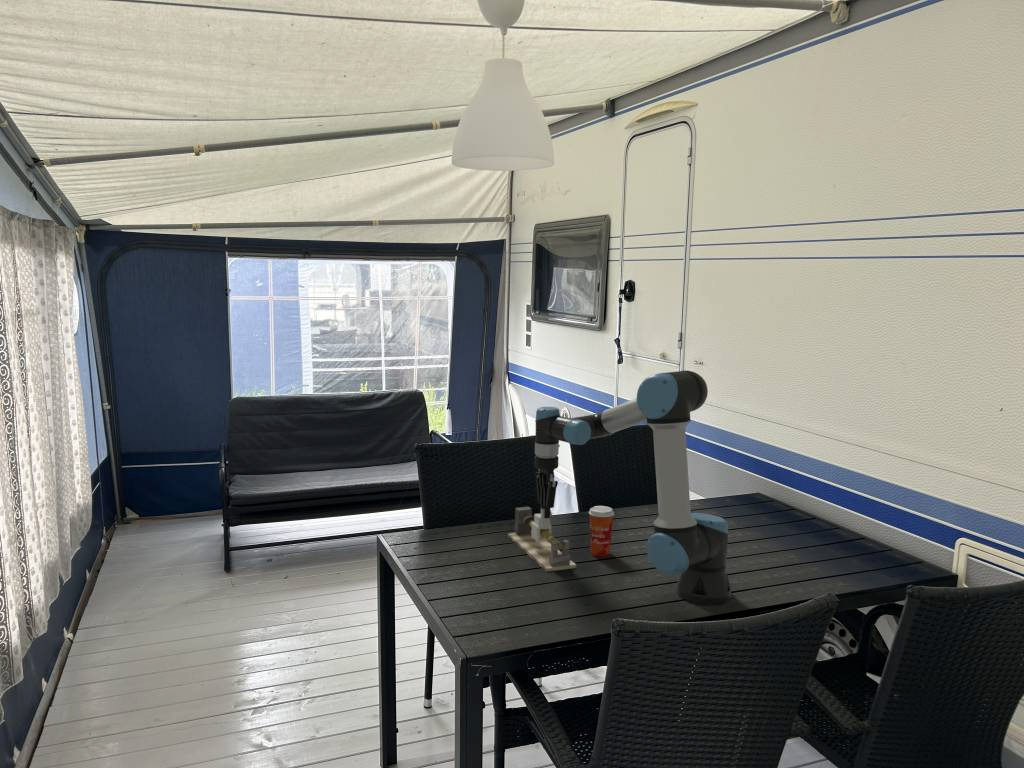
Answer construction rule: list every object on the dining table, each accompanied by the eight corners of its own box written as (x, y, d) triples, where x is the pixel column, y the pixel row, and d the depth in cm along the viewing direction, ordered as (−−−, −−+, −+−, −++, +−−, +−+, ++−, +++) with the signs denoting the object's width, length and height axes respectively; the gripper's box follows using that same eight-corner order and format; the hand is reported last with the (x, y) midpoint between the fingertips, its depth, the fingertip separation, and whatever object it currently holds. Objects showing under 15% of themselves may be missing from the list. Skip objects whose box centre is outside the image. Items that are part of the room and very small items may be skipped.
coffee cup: (583, 554, 250) (584, 510, 248) (593, 547, 257) (594, 503, 255) (607, 559, 246) (609, 514, 244) (616, 551, 253) (618, 507, 251)
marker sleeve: (551, 540, 250) (551, 517, 249) (537, 541, 248) (537, 518, 247) (545, 535, 255) (545, 512, 254) (531, 536, 253) (532, 513, 252)
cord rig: (576, 567, 239) (577, 536, 237) (546, 571, 235) (547, 540, 234) (534, 533, 270) (535, 505, 269) (508, 536, 267) (508, 508, 265)
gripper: (566, 459, 240) (564, 532, 243) (549, 450, 252) (547, 519, 255) (544, 460, 237) (542, 534, 240) (528, 451, 249) (526, 521, 252)
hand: (545, 526), depth 248 cm, fingers closed
